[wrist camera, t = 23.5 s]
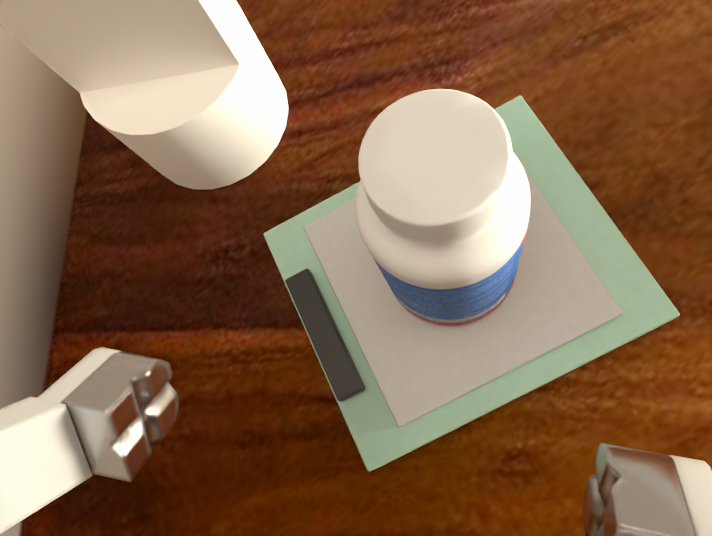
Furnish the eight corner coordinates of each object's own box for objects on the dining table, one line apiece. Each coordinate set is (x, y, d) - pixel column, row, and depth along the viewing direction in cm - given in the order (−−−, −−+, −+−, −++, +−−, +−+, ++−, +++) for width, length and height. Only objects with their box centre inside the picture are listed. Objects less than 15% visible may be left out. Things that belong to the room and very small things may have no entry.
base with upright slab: (141, 198, 31) (-51, 67, 20) (153, 68, 33) (-10, -114, 22) (288, 179, 29) (171, 23, 18) (288, 43, 32) (187, -167, 20)
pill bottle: (540, 294, 22) (589, 196, 12) (421, 350, 22) (384, 296, 13) (477, 187, 23) (479, 33, 14) (368, 240, 24) (302, 124, 15)
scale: (377, 468, 24) (364, 474, 21) (279, 248, 28) (256, 228, 25) (661, 325, 23) (688, 311, 20) (517, 121, 27) (522, 85, 24)
